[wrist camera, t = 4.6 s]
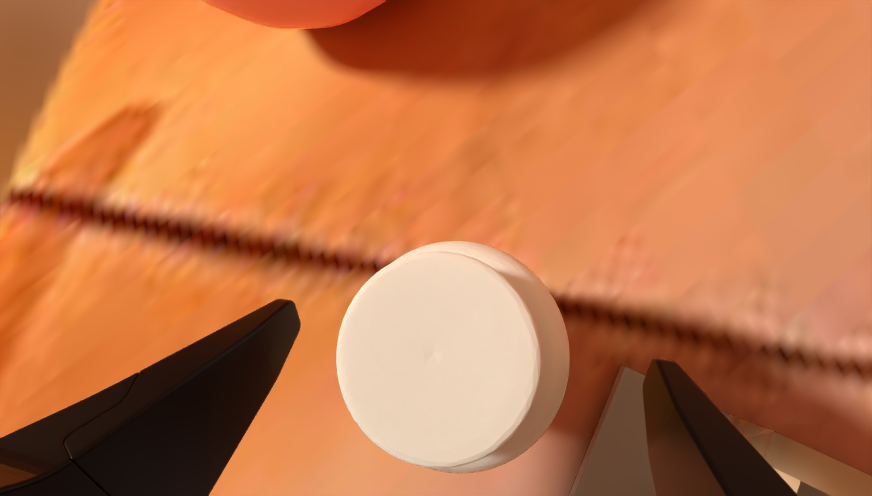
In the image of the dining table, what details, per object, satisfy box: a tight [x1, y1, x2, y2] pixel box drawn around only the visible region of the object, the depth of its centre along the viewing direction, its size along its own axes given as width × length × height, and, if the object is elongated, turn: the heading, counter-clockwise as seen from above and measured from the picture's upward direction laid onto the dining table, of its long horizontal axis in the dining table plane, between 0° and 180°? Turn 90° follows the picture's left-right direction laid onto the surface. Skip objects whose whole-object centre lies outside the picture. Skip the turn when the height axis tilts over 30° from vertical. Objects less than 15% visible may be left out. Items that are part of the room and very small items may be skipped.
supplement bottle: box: [336, 241, 570, 473], centre depth 12 cm, size 6×6×10 cm
